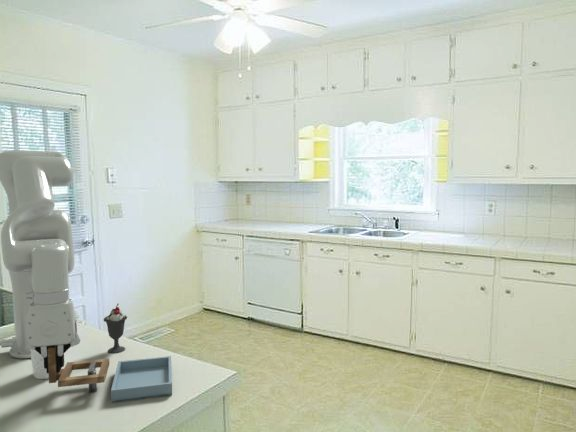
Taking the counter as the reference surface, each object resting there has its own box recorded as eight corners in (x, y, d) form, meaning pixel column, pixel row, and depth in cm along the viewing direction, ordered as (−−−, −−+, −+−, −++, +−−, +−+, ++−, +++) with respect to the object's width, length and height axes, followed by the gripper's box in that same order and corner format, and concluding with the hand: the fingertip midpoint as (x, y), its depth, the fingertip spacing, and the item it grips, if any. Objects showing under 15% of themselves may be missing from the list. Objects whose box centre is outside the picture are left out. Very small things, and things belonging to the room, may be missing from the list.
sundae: (120, 355, 128) (118, 306, 127) (100, 353, 130) (98, 304, 128) (132, 346, 135) (131, 299, 133) (113, 344, 136) (111, 298, 135)
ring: (46, 388, 100) (44, 353, 99) (56, 369, 110) (55, 336, 109) (104, 382, 104) (103, 348, 103) (109, 364, 113) (108, 332, 112)
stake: (87, 396, 105) (86, 371, 104) (90, 386, 110) (89, 362, 109) (95, 395, 105) (94, 370, 105) (98, 385, 110) (97, 362, 109)
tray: (111, 402, 102) (111, 390, 102) (118, 372, 118) (118, 361, 117) (172, 395, 106) (171, 383, 105) (171, 366, 121) (171, 356, 121)
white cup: (71, 369, 119) (69, 334, 118) (46, 382, 111) (45, 345, 110) (49, 365, 121) (47, 330, 120) (24, 377, 114) (22, 341, 113)
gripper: (8, 303, 97) (12, 381, 99) (84, 299, 101) (86, 373, 103) (19, 293, 104) (23, 366, 106) (89, 290, 109) (91, 360, 111)
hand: (54, 369), depth 105 cm, fingers closed on ring, 1 cm apart
